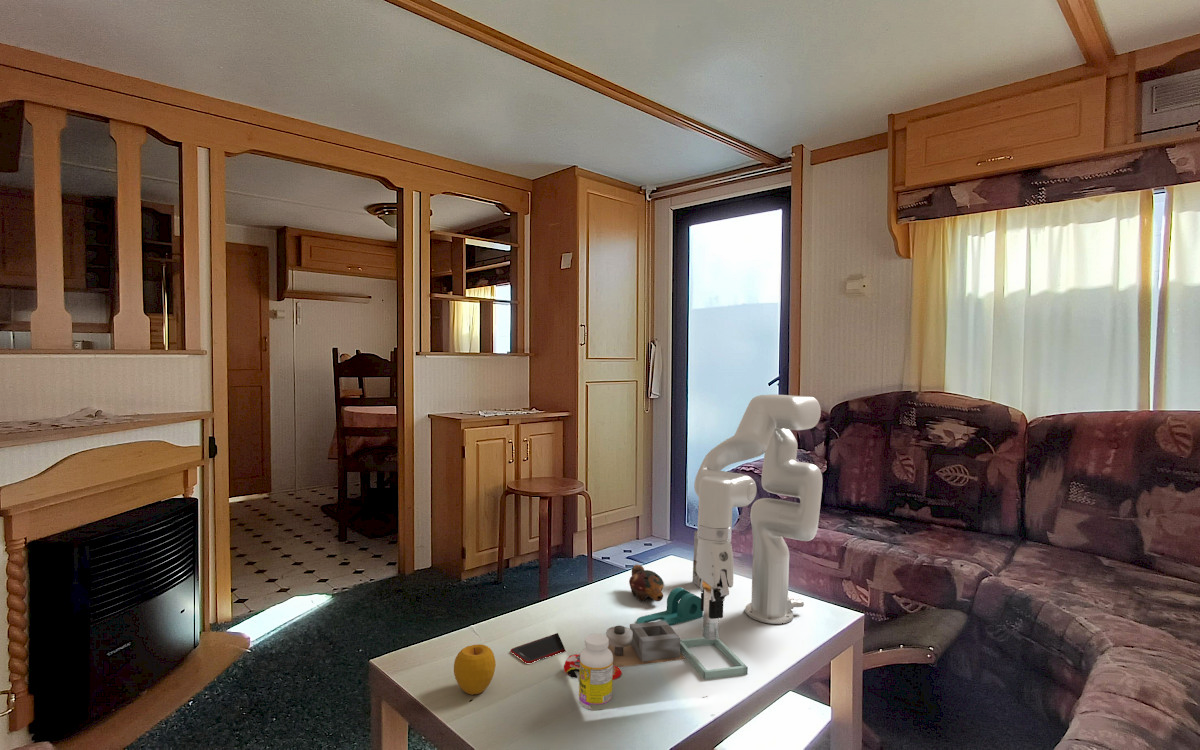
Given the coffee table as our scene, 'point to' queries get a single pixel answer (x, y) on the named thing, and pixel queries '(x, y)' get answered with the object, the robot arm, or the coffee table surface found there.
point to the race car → (574, 665)
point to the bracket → (677, 608)
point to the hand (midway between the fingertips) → (711, 613)
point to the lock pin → (708, 624)
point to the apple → (474, 668)
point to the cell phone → (539, 648)
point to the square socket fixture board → (643, 644)
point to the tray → (714, 673)
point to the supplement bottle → (595, 671)
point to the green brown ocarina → (646, 584)
